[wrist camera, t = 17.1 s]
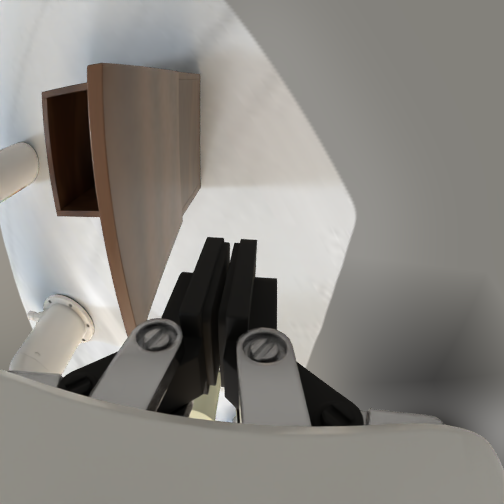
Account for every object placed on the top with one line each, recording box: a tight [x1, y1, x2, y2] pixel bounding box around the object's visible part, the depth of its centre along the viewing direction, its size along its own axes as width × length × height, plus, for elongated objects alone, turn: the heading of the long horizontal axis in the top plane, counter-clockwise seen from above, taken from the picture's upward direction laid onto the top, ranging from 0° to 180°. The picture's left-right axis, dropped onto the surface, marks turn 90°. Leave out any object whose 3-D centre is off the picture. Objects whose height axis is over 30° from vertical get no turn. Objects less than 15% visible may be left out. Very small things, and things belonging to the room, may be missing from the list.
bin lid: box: [87, 63, 183, 337], centre depth 22 cm, size 17×16×1 cm
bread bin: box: [42, 72, 201, 217], centre depth 35 cm, size 17×16×11 cm
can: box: [189, 371, 221, 421], centre depth 58 cm, size 9×9×12 cm
